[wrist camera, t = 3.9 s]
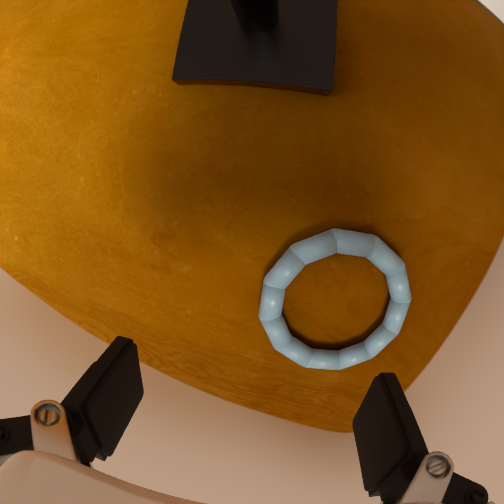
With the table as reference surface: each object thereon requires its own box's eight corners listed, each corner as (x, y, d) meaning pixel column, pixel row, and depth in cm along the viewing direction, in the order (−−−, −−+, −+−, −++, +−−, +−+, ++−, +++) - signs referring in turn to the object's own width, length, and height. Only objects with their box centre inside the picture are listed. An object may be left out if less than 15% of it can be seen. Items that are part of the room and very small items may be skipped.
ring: (421, 241, 16) (430, 247, 15) (379, 364, 19) (384, 375, 18) (272, 216, 17) (271, 221, 15) (253, 352, 20) (251, 364, 18)
